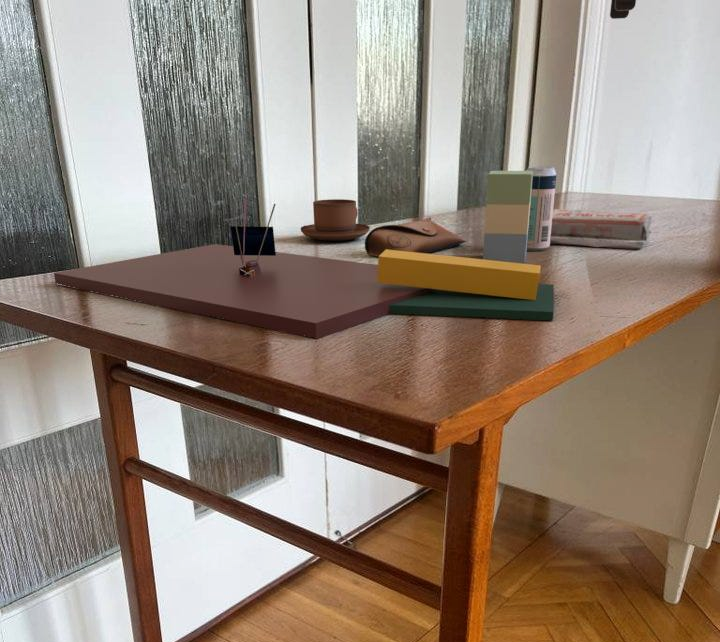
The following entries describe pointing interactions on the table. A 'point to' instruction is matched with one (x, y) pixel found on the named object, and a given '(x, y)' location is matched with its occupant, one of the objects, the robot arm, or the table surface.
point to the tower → (507, 215)
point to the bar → (459, 274)
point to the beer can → (541, 208)
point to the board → (250, 284)
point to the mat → (479, 305)
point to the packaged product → (600, 229)
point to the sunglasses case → (411, 238)
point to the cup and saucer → (335, 221)
